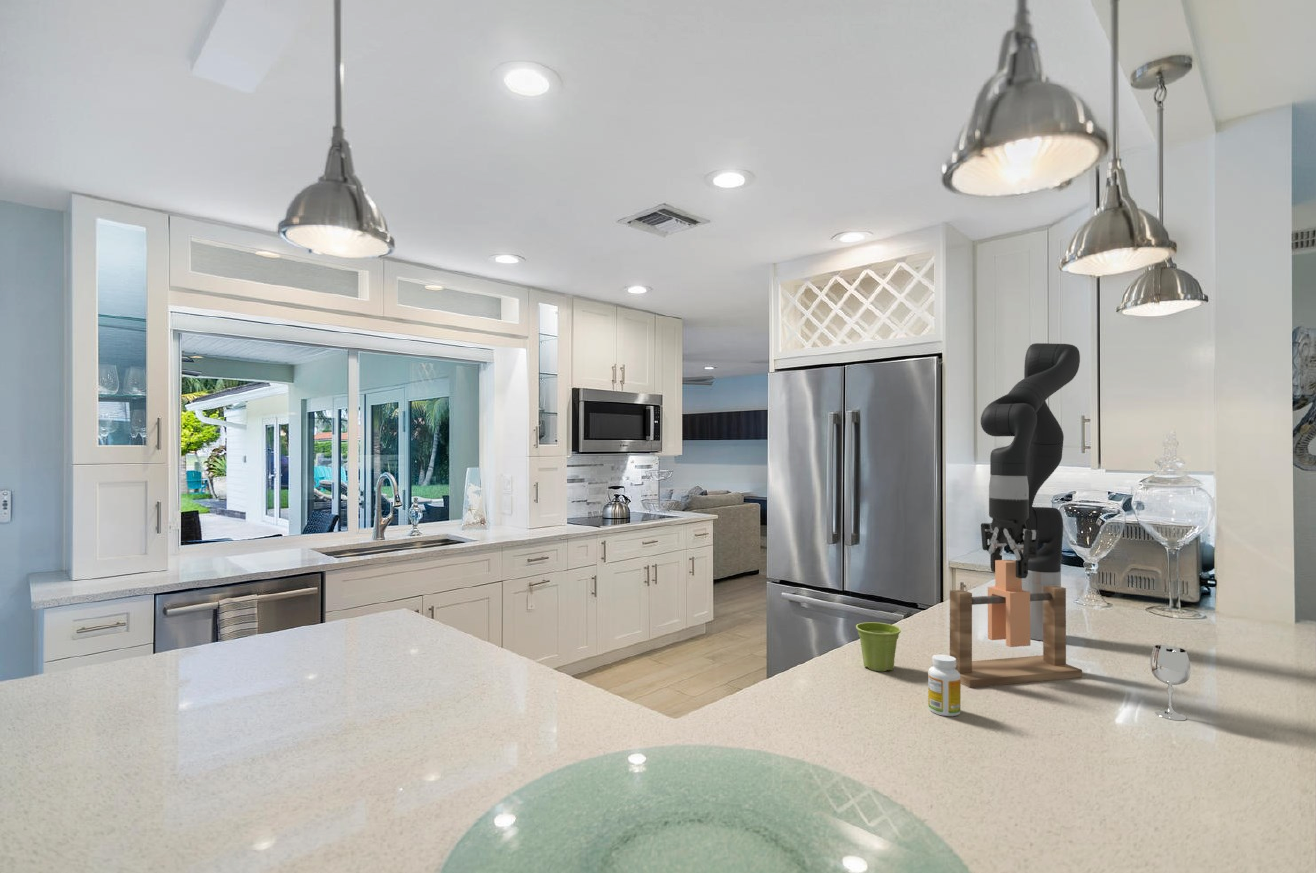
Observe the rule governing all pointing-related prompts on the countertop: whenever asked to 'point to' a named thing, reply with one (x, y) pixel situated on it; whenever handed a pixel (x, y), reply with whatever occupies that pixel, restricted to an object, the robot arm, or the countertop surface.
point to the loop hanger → (1009, 607)
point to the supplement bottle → (944, 686)
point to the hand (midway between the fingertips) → (1008, 574)
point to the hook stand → (1011, 668)
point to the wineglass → (1170, 673)
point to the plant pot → (878, 644)
